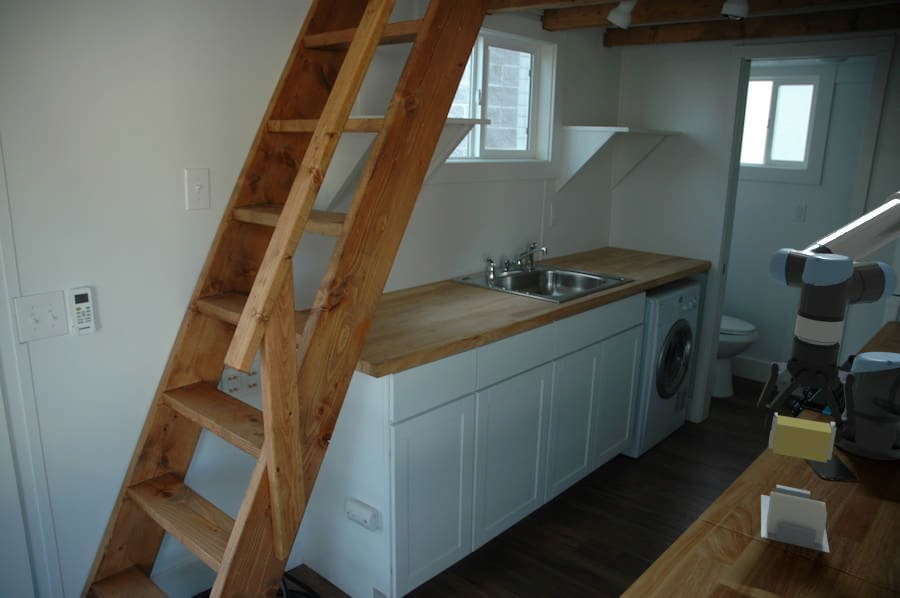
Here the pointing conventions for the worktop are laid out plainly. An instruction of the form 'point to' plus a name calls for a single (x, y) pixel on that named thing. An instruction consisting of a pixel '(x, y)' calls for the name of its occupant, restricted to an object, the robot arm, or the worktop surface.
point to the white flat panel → (796, 513)
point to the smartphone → (833, 469)
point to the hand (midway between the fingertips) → (799, 450)
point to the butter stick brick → (802, 438)
